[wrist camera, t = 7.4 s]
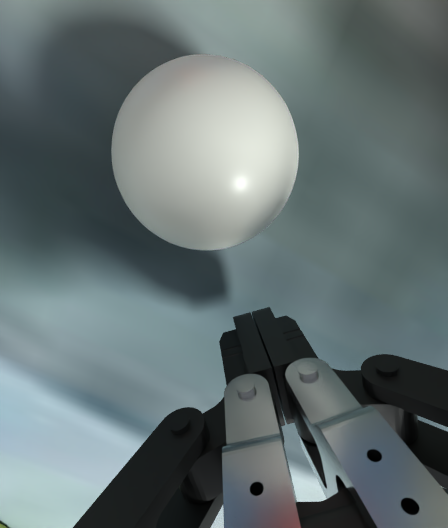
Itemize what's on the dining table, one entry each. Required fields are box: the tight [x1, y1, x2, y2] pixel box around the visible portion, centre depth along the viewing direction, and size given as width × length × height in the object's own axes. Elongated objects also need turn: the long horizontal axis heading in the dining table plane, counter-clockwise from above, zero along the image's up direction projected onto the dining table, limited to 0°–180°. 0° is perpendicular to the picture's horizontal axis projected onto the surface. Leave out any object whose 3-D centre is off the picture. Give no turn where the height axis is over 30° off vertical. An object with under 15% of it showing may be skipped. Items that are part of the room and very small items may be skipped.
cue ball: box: [111, 54, 299, 250], centre depth 10 cm, size 6×6×6 cm
